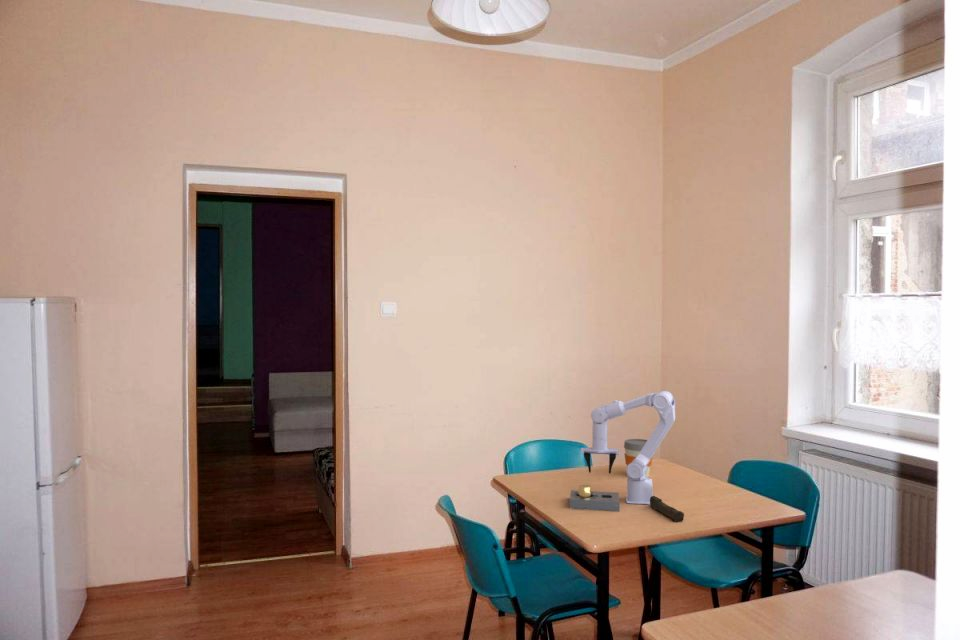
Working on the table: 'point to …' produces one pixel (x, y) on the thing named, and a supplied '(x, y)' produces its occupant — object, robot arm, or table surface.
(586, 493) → the brass fitting
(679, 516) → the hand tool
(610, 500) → the grey flat block
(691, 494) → the table surface
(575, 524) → the table surface
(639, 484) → the robot arm
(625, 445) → the reusable coffee cup
